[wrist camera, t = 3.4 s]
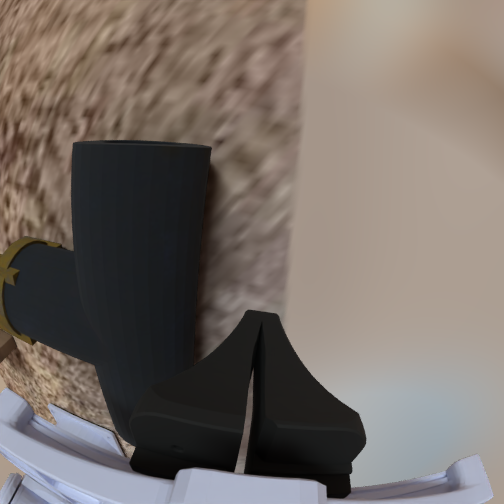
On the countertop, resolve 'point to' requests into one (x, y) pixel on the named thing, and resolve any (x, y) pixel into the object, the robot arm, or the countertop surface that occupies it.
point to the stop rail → (6, 345)
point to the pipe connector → (117, 269)
